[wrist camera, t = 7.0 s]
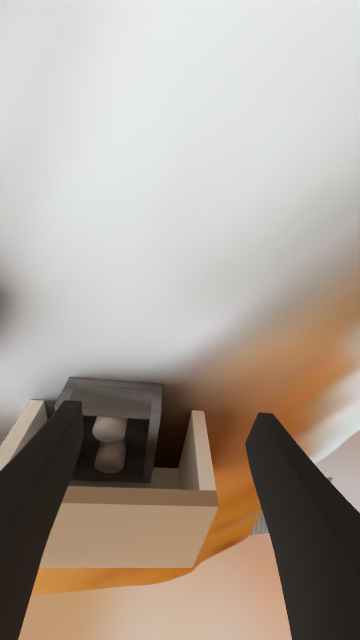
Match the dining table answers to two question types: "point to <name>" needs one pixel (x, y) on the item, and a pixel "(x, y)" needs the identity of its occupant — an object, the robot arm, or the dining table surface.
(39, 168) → the dining table surface
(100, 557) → the shallow storage bin
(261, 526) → the architectural model
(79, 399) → the tray
